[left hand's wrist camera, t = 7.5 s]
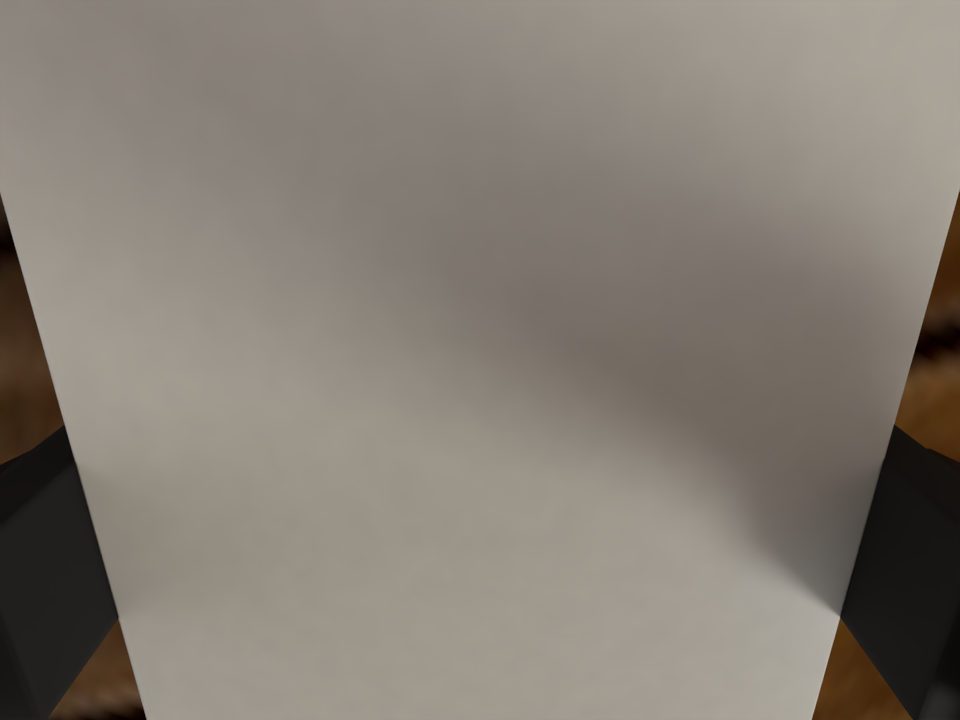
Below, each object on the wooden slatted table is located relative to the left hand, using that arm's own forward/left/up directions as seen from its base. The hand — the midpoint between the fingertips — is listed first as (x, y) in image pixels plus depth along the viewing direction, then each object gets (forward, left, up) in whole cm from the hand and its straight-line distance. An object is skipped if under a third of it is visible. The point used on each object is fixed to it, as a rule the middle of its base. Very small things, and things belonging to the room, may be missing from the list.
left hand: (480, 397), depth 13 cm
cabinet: (+1, +5, -4) cm, 7 cm away
